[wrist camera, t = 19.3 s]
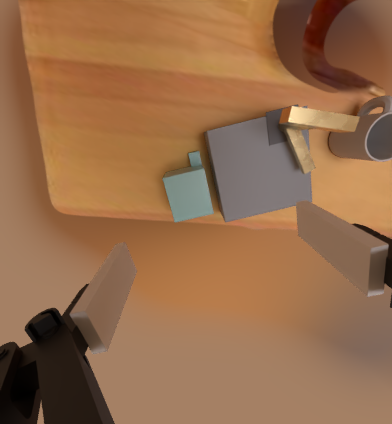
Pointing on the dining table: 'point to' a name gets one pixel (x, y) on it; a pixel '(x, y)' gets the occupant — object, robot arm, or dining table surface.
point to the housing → (256, 168)
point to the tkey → (311, 119)
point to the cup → (367, 134)
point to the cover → (188, 190)
